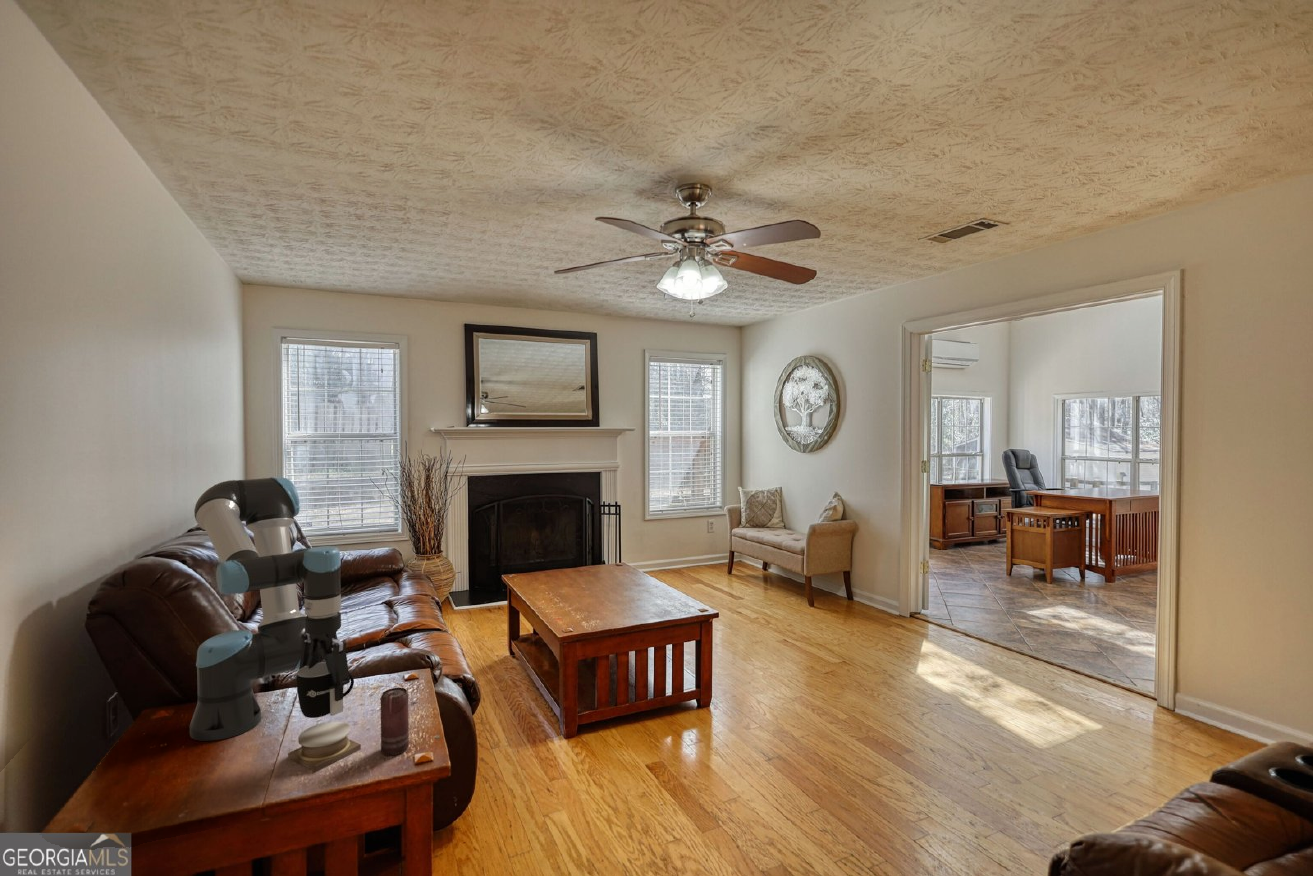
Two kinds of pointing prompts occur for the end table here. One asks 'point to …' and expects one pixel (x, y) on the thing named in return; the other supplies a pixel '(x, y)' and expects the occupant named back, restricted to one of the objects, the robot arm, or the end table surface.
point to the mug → (316, 690)
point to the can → (394, 721)
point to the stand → (324, 745)
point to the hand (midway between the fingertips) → (324, 708)
